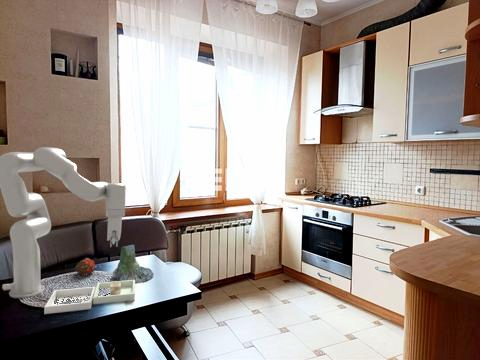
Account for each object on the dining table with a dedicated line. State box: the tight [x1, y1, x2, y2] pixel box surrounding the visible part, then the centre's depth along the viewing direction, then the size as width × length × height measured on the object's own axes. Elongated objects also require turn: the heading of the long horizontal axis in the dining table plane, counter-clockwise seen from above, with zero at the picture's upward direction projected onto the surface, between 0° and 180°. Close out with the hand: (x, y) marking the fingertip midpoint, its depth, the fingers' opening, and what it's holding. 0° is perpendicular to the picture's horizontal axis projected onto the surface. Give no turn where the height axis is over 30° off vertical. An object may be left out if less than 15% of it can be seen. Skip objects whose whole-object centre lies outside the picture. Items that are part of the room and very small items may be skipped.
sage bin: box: [92, 280, 136, 305], centre depth 135 cm, size 16×16×3 cm
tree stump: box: [112, 244, 154, 284], centre depth 157 cm, size 18×20×18 cm
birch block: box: [110, 283, 121, 295], centre depth 135 cm, size 4×4×4 cm
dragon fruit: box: [74, 257, 96, 276], centre depth 159 cm, size 8×8×12 cm
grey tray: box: [43, 286, 97, 315], centre depth 127 cm, size 16×16×3 cm
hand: (114, 252), depth 134 cm, fingers open, 9 cm apart
